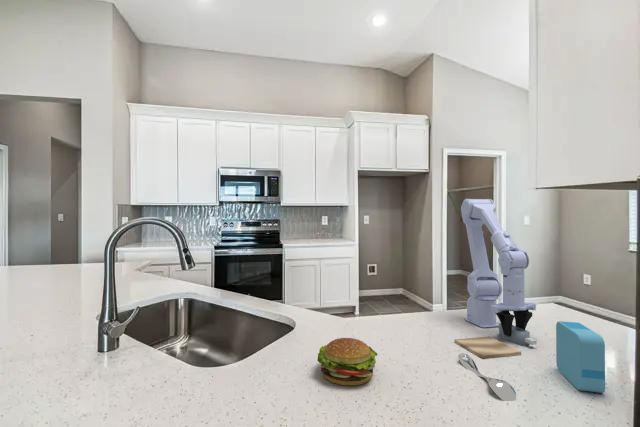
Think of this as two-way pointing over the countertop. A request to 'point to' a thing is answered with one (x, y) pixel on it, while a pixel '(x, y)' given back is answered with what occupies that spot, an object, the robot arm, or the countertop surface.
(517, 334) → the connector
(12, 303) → the countertop surface
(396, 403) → the countertop surface
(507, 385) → the silver spoon
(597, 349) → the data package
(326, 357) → the food
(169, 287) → the countertop surface
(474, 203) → the robot arm
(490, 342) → the cork pad
